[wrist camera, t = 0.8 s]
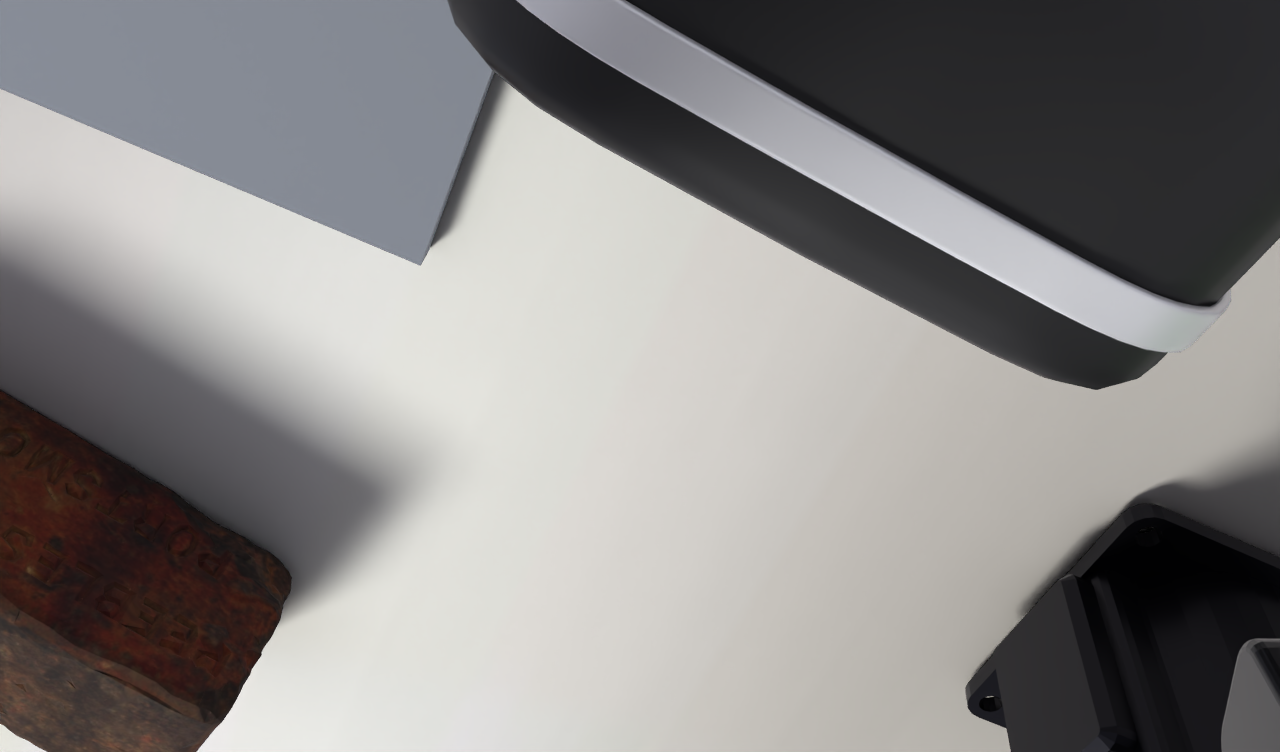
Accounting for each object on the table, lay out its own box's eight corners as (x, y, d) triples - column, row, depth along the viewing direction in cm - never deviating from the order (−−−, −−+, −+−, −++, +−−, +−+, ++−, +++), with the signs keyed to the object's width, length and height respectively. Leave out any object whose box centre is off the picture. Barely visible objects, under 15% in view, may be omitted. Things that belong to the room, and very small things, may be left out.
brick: (313, 558, 27) (230, 723, 23) (237, 648, 29) (149, 813, 25) (-140, 291, 24) (-321, 427, 20) (-189, 411, 26) (-363, 555, 22)
